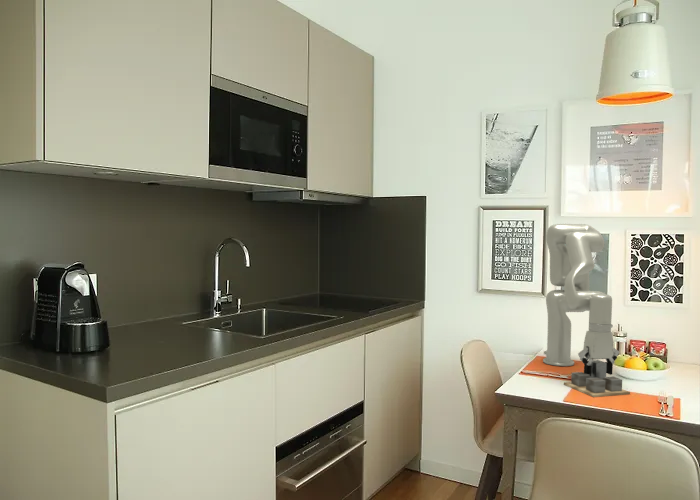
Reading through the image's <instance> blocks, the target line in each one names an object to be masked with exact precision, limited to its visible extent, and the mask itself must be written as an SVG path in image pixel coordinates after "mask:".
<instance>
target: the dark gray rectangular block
mask: <svg viewBox="0 0 700 500" xmlns="http://www.w3.org/2000/svg"><path fill="white" fill-rule="evenodd" d="M606 362H607V361H602V360H601V359H596V360H593V361H592V363H591V364H590V365H591V366H592V370H591V376H590V378H599V379H602V380H603V377H607V373H606V366H607V363H606Z"/></svg>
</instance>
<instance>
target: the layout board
mask: <svg viewBox="0 0 700 500" xmlns="http://www.w3.org/2000/svg"><path fill="white" fill-rule="evenodd" d="M570 376H571V379H570V380H571V381H569V382H567V381H566V382H565V381H564V382H563V385H564V386H566V387H568V388H571V389H573V390H576V391H578V392H580V393H583V394H585V395H588V396H590V397H592V398H598V397H601V398H602V397H613V396H625V395H631V392H630V390H629V391H628V390H626V389H624V388H623V379H622V378H619V377H616V376H606V377H603V380H602V379H599V378H590V375H589V374H586V373H584V371H579V372H576V371H575V372H571V374H570Z"/></svg>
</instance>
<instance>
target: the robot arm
mask: <svg viewBox="0 0 700 500" xmlns="http://www.w3.org/2000/svg"><path fill="white" fill-rule="evenodd" d="M545 238H546V239H545V240H546V245H547V249H548V250H549V281H550V283H551V285H552V286H554V287H555V286H556V287H562V288H563V289H553V290H550V291H548V292H547V294H546V296H545V304H546V310H547V339H546V341H547V343H546V345H547V346H546V350H545V351H543V354H544V355H545V357H544V358H543V359H542V362H543V363H544V364H546V365H550V366H557V367H569V366H570V367H571V366H574V365H575V361H574V360H573V359H572V358H571V354H572V353H571V352H572V351H571V349H572V348H571V347H572V321H571V319H570V318H569V316H568V315H567V313H583V312H587V311H588V312H589V313H588V330H586V332H585V336H584V339H583V340H584V341H583V348H582V350H581V351H580V352H579V351H578V353H577V354H578V356H579V360H580V361H581V362H582V364H583V373H586V374H589V375H590V376H591V370H592V366H591V365H590V364H591V363H592V361H593V360H605V362H606V363H607V366H606V374H608V375H610V376H611V375H613V369H614V366H613V365H614V364H615V361H616V360H617V358H618V355H619V353H620V351H619V350H618V349H616V347H614V346H615V345H614V336H613V335H614V334H613V331H612V328H613V327H614V326H613V324H612V313H613V298H612V296H611V295H609V294H606V293H605V292H604V291H603V292H602V291H598V290H590V272H592V271H593V270H594V268H595V260H594V257H593V254H592V253H601V252H602V251H603V250H604V248H605V247H604V246H605V239H604V237H603V235H602V234H601V232H600V231H598V229H596V228H594V227H592V226H591V225H589V224H585V223H584V224H582V223H556V224H553V225H550V226H549V227H548V228H547V231H546V237H545Z"/></svg>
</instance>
